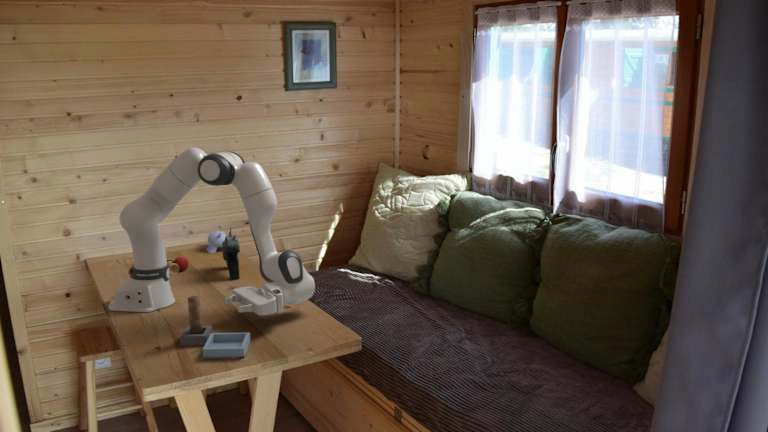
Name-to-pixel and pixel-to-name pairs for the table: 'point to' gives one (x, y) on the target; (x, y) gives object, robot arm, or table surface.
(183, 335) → the socket block
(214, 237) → the hippopotamus toy
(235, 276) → the ceramic cat
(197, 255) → the table surface
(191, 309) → the dowel
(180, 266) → the kendama
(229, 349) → the tray
